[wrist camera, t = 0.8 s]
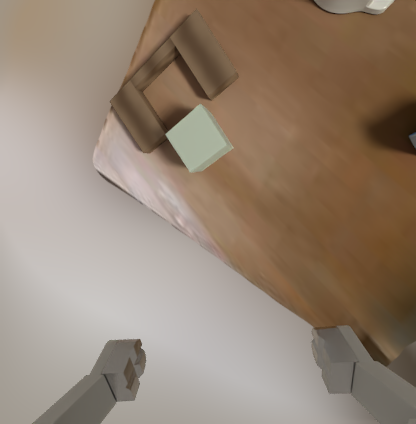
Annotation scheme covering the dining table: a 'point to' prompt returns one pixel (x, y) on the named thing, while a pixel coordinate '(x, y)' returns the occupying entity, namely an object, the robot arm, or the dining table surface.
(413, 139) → the medicine box
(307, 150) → the dining table surface
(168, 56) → the dock block
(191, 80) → the dining table surface
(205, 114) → the sage block
